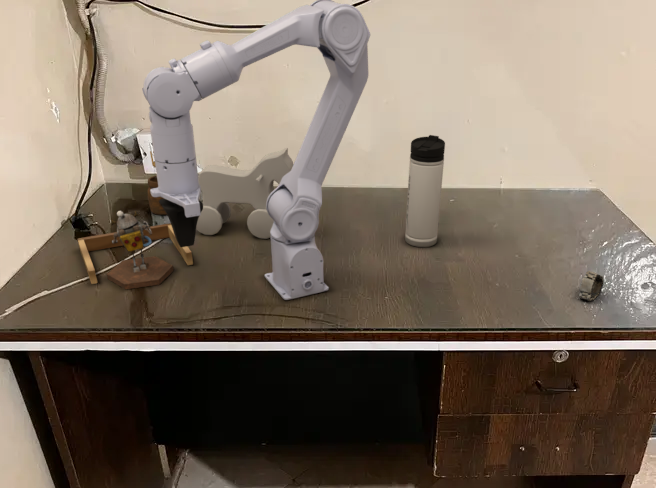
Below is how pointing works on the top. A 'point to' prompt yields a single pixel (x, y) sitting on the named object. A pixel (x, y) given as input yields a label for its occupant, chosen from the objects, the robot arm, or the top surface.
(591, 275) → the wristwatch
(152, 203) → the utensil holder
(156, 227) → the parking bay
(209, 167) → the pony
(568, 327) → the top surface
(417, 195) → the travel mug
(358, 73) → the robot arm
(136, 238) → the robot figurine
